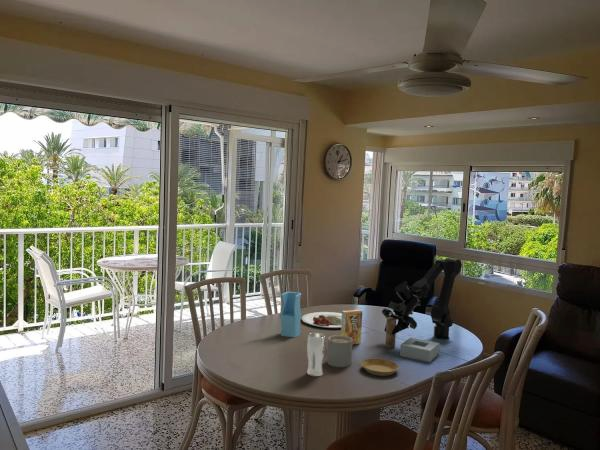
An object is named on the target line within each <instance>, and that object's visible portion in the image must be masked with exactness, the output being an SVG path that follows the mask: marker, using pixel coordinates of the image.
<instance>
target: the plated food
mask: <svg viewBox="0 0 600 450" xmlns="http://www.w3.org/2000/svg"><path fill="white" fill-rule="evenodd" d="M301 320H302V322H304V323H306V324H308V325H310V326H314V327H318V328H324V329H341V322H342V312H333V311H331V312H330V311H318V312H315V311H314V312H310V313H305V314H304V315H302V316H301Z"/></svg>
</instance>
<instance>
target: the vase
mask: <svg viewBox="0 0 600 450" xmlns="http://www.w3.org/2000/svg"><path fill="white" fill-rule="evenodd" d="M280 297H281V300H282V308H281V313H280V315H279V316H280V318H279V319H280V323H281V331H280V332H281V333H280V336H281V337H288V338H296V337H298V336H299V335H301V334H302V331H301V320H302V316H303V315H302V314H303V313H302V310H301V306H300V303H301V301H300V300H301V297H302V293H301V292H295V291H286V292H283V293H281V295H280Z"/></svg>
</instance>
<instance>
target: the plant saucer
mask: <svg viewBox="0 0 600 450" xmlns="http://www.w3.org/2000/svg"><path fill="white" fill-rule="evenodd" d="M360 365H361V366H362V368H363V369H364V370H365V371H366V372H367V373H369V374H371V375H374V376H378V377H386V376H387V377H389V376H392V375H393V374H395V373H396V372H397V371H398V370H399V368H400V366H399V365H398V363H396V362H394V361H392V360H389V359H385V358H377V357H376V358H373V357H372V358H366V359H364V360H362V361H361V362H360Z"/></svg>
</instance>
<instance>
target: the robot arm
mask: <svg viewBox="0 0 600 450" xmlns="http://www.w3.org/2000/svg"><path fill="white" fill-rule="evenodd" d="M462 267H463V263H462V262H461V260H460V259H457V258H452V257H448V258H446V259H445V258H444V259H436V260H435V261H434V263H433V265H431V267H430V269H429V270H428V271H427V272H426V273H425V275H424V276H423V277H422V278H421V279H418V280H417V281H415V282H414V283H413V284H412V285H409V283H408V282H407V281H403V282H402V283H400V284H398V285H396V286H395V288H394V291H395V293H396V294H397V295H398V297H399V299H400V300H402V302H399V303H397V302H393V301H392V300H391V301H390V302H389V304H388V308H386V307H385V308H383V309H382V310H381V313H382V315H383V316H384V317H385V319H387V318H388V317H393V318H396V321H397V322H396V326H395V328H394V329H393V331H392V335H394V334H396V335H397V333H399V332H402V331H405V330H406V329H409V328H410V329H413V330H415V329H416V328H417V327H418V323H417V321H416V320H415V318H414V317H413V316H411V315H413V314H414V313H413V311H414V309H415V308H416V307H417V306H419V307H420V306H421V305H422V303H421V299H425V298H426V297H427V296H428V294H429V293H430V290H431V286H432V284H433V283H434V282H435V280H436V279H437V278H438V277H439V275H440V274H441V273H442V272H443V273H444V277H443V281H442V284H441V289H440V293H439V297H438V301H437V303H436V304H435V305H432V306H431V311H430V317H431V320H432V321H431V322H432V324H434V326H433V336H434V337H435V339H445V340H446V339H447V340H448V339H449V340H450V328H451V327H453V325H454V321H453V320H452V318H451V317H450V314H451V311H450V309H449V303H450V300H451V295H452V292H453V287H454V283H455V278H456V277H457V276H458V275H459V274H460V273H461V270H462ZM419 298H421V299H419ZM383 331H384V332H385V333H386V325H385V327H384V330H383Z"/></svg>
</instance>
